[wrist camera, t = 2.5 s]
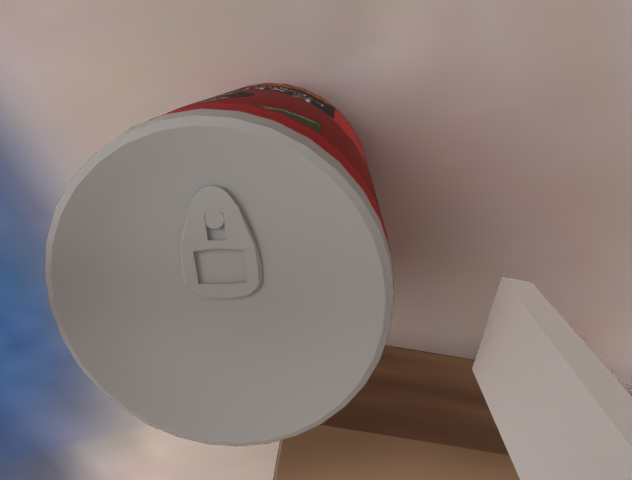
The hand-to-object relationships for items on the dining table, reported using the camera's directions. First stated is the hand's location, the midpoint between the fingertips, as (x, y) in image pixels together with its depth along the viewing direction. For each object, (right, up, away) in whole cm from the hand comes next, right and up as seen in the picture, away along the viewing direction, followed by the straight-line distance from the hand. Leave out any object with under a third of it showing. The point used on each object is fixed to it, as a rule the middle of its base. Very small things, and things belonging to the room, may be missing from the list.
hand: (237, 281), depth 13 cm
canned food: (0, +4, +8) cm, 9 cm away
